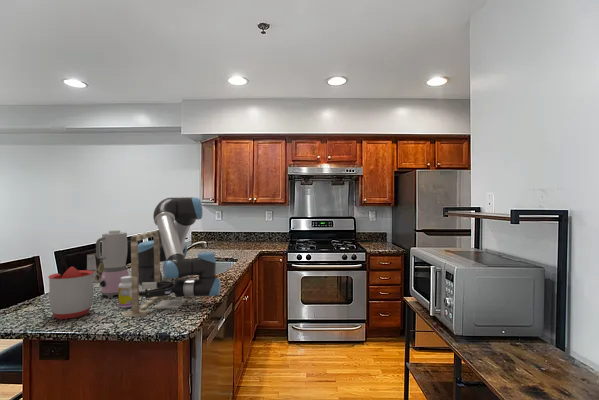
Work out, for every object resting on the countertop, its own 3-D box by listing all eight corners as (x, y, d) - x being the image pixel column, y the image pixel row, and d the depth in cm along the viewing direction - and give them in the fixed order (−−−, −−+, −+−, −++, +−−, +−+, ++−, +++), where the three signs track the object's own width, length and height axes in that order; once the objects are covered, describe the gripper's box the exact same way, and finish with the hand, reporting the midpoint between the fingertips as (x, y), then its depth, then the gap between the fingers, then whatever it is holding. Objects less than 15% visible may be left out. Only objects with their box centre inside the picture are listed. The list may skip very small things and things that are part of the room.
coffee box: (97, 282, 200) (97, 254, 200) (86, 282, 200) (86, 254, 200) (106, 278, 209) (106, 252, 209) (96, 279, 209) (95, 252, 210)
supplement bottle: (122, 303, 157) (122, 275, 157) (137, 303, 157) (137, 275, 157) (115, 308, 150) (115, 278, 150) (131, 308, 150) (131, 278, 151)
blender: (119, 290, 181) (118, 229, 182) (134, 292, 176) (133, 230, 176) (89, 297, 167) (88, 231, 168) (104, 301, 162) (103, 232, 162)
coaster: (162, 301, 159) (162, 299, 160) (184, 300, 160) (184, 299, 160) (155, 308, 150) (155, 306, 150) (178, 307, 150) (178, 305, 150)
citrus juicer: (84, 306, 154) (84, 261, 154) (100, 313, 143) (100, 265, 143) (42, 315, 142) (41, 266, 142) (55, 324, 131) (55, 271, 131)
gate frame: (149, 296, 169) (148, 230, 169) (168, 295, 169) (167, 230, 170) (122, 316, 139) (120, 237, 139) (145, 315, 140) (143, 236, 140)
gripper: (177, 304, 142) (124, 306, 141) (192, 289, 167) (146, 290, 166) (177, 286, 142) (124, 288, 141) (191, 273, 167) (146, 275, 166)
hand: (136, 289), depth 153 cm, fingers open, 13 cm apart
